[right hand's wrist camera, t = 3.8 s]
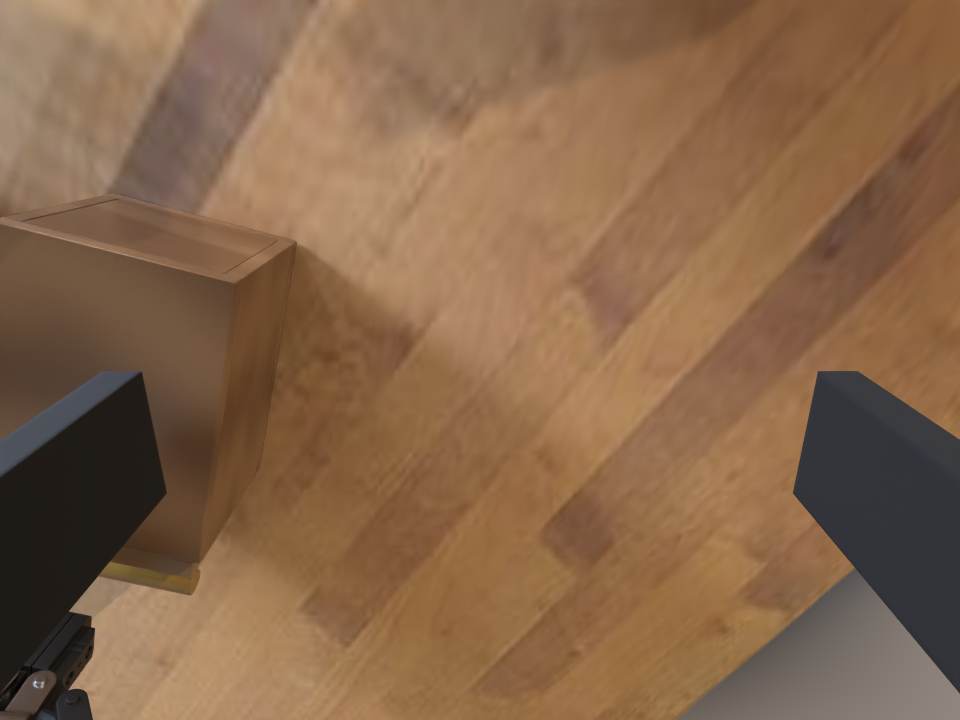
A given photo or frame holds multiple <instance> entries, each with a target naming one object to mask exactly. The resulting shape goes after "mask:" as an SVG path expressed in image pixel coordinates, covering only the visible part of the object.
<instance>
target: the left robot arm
mask: <svg viewBox="0 0 960 720" xmlns="http://www.w3.org/2000/svg"><path fill="white" fill-rule="evenodd" d="M91 621H92V617H91V616H88V615H83V614H78V613H73V612H68V613H67V614H66V615H65V616H64V617H63V619H62V620H61V621H60V622H59V623H58V625H57V626H56V627H55V628H54V629H53V631H52V632H51V633H50V634H49V635H48V637H47V638H46V639H45V640H44V641H43V643H42V644H41V645H40V646H39V647H38V649H37V650H36V651H35V652H34V653H33V655H32V656H31V657H30V658H29V659H28V661H27V662H26V663H25V664H24V665H23V667H22V668H21V669H20V670H19V671H18V673H17V674H16V675H15V676H14V677H13V679H12V680H11V681H10V682H9V683H8V685H7V686H6V687H5V688H4V689H3V691H2V692H1V693H0V720H93V718H92V713H91V709H90V704H89V700H88V695H87V693H86V692H85V691H84V690H81V689H72V690H69V688H70V687H71V685H72V684H73V683H74V681H75V680H76V678H77V677H78V676H79V674H80V672H81V671H82V670H83V669H84V667H85V665H86V664H87V663H88V662H89V660H90V659H91V657H92V654H93V649H94V635H95V628H91Z"/></svg>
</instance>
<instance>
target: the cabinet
mask: <svg viewBox="0 0 960 720" xmlns="http://www.w3.org/2000/svg"><path fill="white" fill-rule="evenodd" d="M296 244H297V242H296V241H294V240H290V239H286V238H283V237H279V236H275V235H271V234H267V233H264V232H260V231H256V230H252V229H248V228H245V227H241V226H237V225H233V224H229V223H226V222H222V221H218V220H214V219H210V218H207V217H203V216H199V215H195V214H191V213H188V212H184V211H180V210H176V209H172V208H169V207H165V206H161V205H157V204H153V203H150V202H146V201H142V200H138V199H134V198H131V197H127V196H123V195H119V194H115V193H113V194H108V195H104V196H99V197H95V198H90V199H85V200H81V201H76V202H71V203H67V204H62V205H57V206H53V207H48V208H43V209H39V210H34V211H29V212H25V213H20V214H15V215H11V216H6V217H1V218H0V440H1V439H2V438H4V437H5V436H7V435H8V434H10V433H11V432H13V431H14V430H16V429H17V428H19V427H20V426H22V425H23V424H25V423H26V422H28V421H29V420H31V419H32V418H34V417H35V416H37V415H38V414H40V413H41V412H43V411H44V410H45V409H47V408H48V407H50V406H51V405H53V404H54V403H56V402H57V401H59V400H60V399H62V398H63V397H65V396H66V395H68V394H69V393H71V392H72V391H74V390H75V389H77V388H78V387H80V386H81V385H83V384H84V383H86V382H87V381H89V380H90V379H92V378H93V377H95V376H96V375H98V374H99V373H101V372H102V371H142V374H143V379H144V384H145V389H146V394H147V399H148V404H149V408H150V413H151V418H152V423H153V428H154V433H155V437H156V442H157V447H158V452H159V457H160V462H161V467H162V471H163V476H164V481H165V486H166V491H167V494H166V495H165V496H164V497H163V499H162V500H161V501H160V502H159V503H158V505H157V506H156V507H155V508H154V509H153V511H152V512H151V513H150V514H149V515H148V517H147V518H146V519H145V520H144V521H143V523H142V524H141V525H140V526H139V527H138V529H137V530H136V531H135V532H134V533H133V535H132V536H131V537H130V538H129V539H128V541H127V542H126V543H125V544H124V545H123V547H122V548H126V549H131V550H135V551H140V552H145V553H149V554H154V555H159V556H164V557H168V558H173V559H178V560H182V561H187V562H192V563H197V564H199V563H200V561H201V560H202V558H203V556H204V555H205V553H206V552H207V550H208V549H209V547H210V546H211V544H212V542H213V541H214V539H215V538H216V536H217V534H218V533H219V531H220V530H221V528H222V526H223V525H224V523H225V522H226V520H227V519H228V517H229V515H230V514H231V512H232V511H233V509H234V507H235V506H236V504H237V503H238V501H239V499H240V498H241V496H242V495H243V493H244V491H245V490H246V488H247V487H248V485H249V483H250V482H251V480H252V479H253V477H254V475H255V474H256V472H257V470H258V469H259V467H260V462H261V455H262V449H263V443H264V437H265V431H266V425H267V419H268V413H269V407H270V401H271V395H272V389H273V383H274V377H275V371H276V365H277V359H278V353H279V347H280V340H281V334H282V328H283V322H284V316H285V310H286V304H287V298H288V292H289V286H290V280H291V274H292V268H293V262H294V256H295V250H296Z"/></svg>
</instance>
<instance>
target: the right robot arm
mask: <svg viewBox="0 0 960 720" xmlns="http://www.w3.org/2000/svg"><path fill="white" fill-rule="evenodd" d="M166 494H167V491H166V486H165V481H164V476H163V471H162V467H161V462H160V457H159V452H158V447H157V442H156V437H155V433H154V428H153V423H152V418H151V413H150V408H149V404H148V399H147V394H146V389H145V384H144V379H143V374H142V371H102V372H101V373H99V374H98V375H96V376H95V377H93V378H92V379H90V380H89V381H87V382H86V383H84V384H83V385H81V386H80V387H78V388H77V389H75V390H74V391H72V392H71V393H69V394H68V395H66V396H65V397H63V398H62V399H60V400H59V401H57V402H56V403H54V404H53V405H51V406H50V407H48V408H47V409H45V410H44V411H43V412H41V413H40V414H38V415H37V416H35V417H34V418H32V419H31V420H29V421H28V422H26V423H25V424H23V425H22V426H20V427H19V428H17V429H16V430H14V431H13V432H11V433H10V434H8V435H7V436H5V437H4V438H2V439H1V440H0V693H1V692H2V691H3V689H4V688H5V687H6V686H7V685H8V683H9V682H10V681H11V680H12V679H13V677H14V676H15V675H16V674H17V673H18V671H19V670H20V669H21V668H22V667H23V665H24V664H25V663H26V662H27V661H28V659H29V658H30V657H31V656H32V655H33V653H34V652H35V651H36V650H37V649H38V647H39V646H40V645H41V644H42V643H43V641H44V640H45V639H46V638H47V637H48V635H49V634H50V633H51V632H52V631H53V629H54V628H55V627H56V626H57V625H58V623H59V622H60V621H61V620H62V619H63V617H64V616H65V615H66V614H67V613H68V611H69V610H70V609H71V608H72V607H73V605H74V604H75V603H76V602H77V601H78V599H79V598H80V597H81V596H82V595H83V593H84V592H85V591H86V590H87V589H88V587H89V586H90V585H91V584H92V583H93V581H94V580H95V579H96V578H97V577H98V575H99V574H100V573H101V572H102V571H103V569H104V568H105V567H106V566H107V565H108V563H109V562H110V561H111V560H112V559H113V557H114V556H115V555H116V554H117V553H118V551H119V550H120V549H121V548H122V547H123V545H124V544H125V543H126V542H127V541H128V539H129V538H130V537H131V536H132V535H133V533H134V532H135V531H136V530H137V529H138V527H139V526H140V525H141V524H142V523H143V521H144V520H145V519H146V518H147V517H148V515H149V514H150V513H151V512H152V511H153V509H154V508H155V507H156V506H157V505H158V503H159V502H160V501H161V500H162V499H163V497H164V496H165V495H166ZM793 494H794V495H795V496H796V497H797V499H798V500H799V501H800V502H801V503H802V505H803V506H804V507H805V508H806V509H807V511H808V512H809V513H810V514H811V515H812V517H813V518H814V519H815V520H816V521H817V523H818V524H819V525H820V526H821V527H822V529H823V530H824V531H825V532H826V533H827V535H828V536H829V537H830V538H831V539H832V541H833V542H834V543H835V544H836V545H837V547H838V548H839V549H840V550H841V551H842V553H843V554H844V555H845V556H846V557H847V559H848V560H849V561H850V562H851V563H852V565H853V566H854V567H855V568H856V569H857V571H858V572H859V573H860V574H861V575H862V577H863V578H864V579H865V580H866V581H867V583H868V584H869V585H870V586H871V587H872V589H873V590H874V591H875V592H876V593H877V595H878V596H879V597H880V598H881V599H882V601H883V602H884V603H885V604H886V605H887V607H888V608H889V609H890V610H891V611H892V613H893V614H894V615H895V616H896V617H897V619H898V620H899V621H900V622H901V623H902V624H903V626H904V627H905V628H906V629H907V631H908V632H909V633H910V634H911V635H912V637H913V638H914V639H915V640H916V641H917V643H918V644H919V645H920V646H921V647H922V649H923V650H924V651H925V652H926V653H927V655H928V656H929V657H930V658H931V659H932V661H933V662H934V663H935V664H936V665H937V667H938V668H939V669H940V670H941V671H942V673H943V674H944V675H945V676H946V677H947V679H948V680H949V681H950V682H951V683H952V685H953V686H954V687H955V688H956V689H957V691H958V692H959V693H960V440H959V439H958V438H956V437H955V436H953V435H952V434H950V433H949V432H947V431H946V430H944V429H943V428H941V427H940V426H938V425H937V424H935V423H934V422H932V421H931V420H929V419H928V418H926V417H925V416H923V415H922V414H920V413H919V412H917V411H916V410H915V409H913V408H912V407H910V406H909V405H907V404H906V403H904V402H903V401H901V400H900V399H898V398H897V397H895V396H894V395H892V394H891V393H889V392H888V391H886V390H885V389H883V388H882V387H880V386H879V385H877V384H876V383H874V382H873V381H871V380H870V379H868V378H867V377H865V376H864V375H862V374H861V373H859V372H858V371H818V374H817V379H816V384H815V389H814V394H813V399H812V404H811V408H810V413H809V418H808V423H807V428H806V433H805V437H804V442H803V447H802V452H801V457H800V462H799V467H798V471H797V476H796V481H795V486H794V491H793Z"/></svg>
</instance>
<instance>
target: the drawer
mask: <svg viewBox="0 0 960 720" xmlns="http://www.w3.org/2000/svg"><path fill="white" fill-rule="evenodd" d="M241 498H242V496H241ZM241 498H240V499H239V501H240V500H241ZM239 501H238V503H239ZM238 503H237V504H238ZM237 504H236V506H237ZM236 506H235V507H234V509H235V508H236ZM234 509H233V511H234ZM233 511H232V512H233ZM232 512H231V514H232ZM231 514H230V515H229V517H230V516H231ZM229 517H228V519H229ZM228 519H227V520H228ZM227 520H226V522H227ZM226 522H225V523H224V525H225V524H226ZM224 525H223V526H222V528H223V527H224ZM222 528H221V530H222ZM221 530H220V531H219V533H220V532H221ZM219 533H218V534H217V536H218V535H219ZM217 536H216V538H217ZM216 538H215V539H214V541H215V540H216ZM214 541H213V542H212V544H213V543H214ZM212 544H211V546H212ZM211 546H210V547H209V549H210V548H211ZM209 549H208V550H207V552H208V551H209ZM207 552H206V553H205V555H204V556H203V558H202V560H203V559H204V557H205V556H206V554H207ZM202 560H201V561H200V563H199V564H197V563H192V562H187V561H182V560H178V559H173V558H168V557H164V556H159V555H154V554H149V553H145V552H140V551H135V550H131V549H126V548H121V549H120V550H119V551H118V553H117V554H116V555H115V556H114V557H113V559H112V560H111V561H110V562H109V563H108V565H107V566H106V567H105V568H104V569H103V571H102V572H101V573H100V574H99V575H98V576H99V577H104V578H108V579H113V580H118V581H123V582H128V583H132V584H137V585H142V586H147V587H152V588H157V589H161V590H166V591H171V592H176V593H181V594H186V595H192V594H193V592H194V591H195V589H196V587H197V584H198V581H199V578H200V570H198V569H197V568H198V567H199V565H200V564H201V562H202Z"/></svg>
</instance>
